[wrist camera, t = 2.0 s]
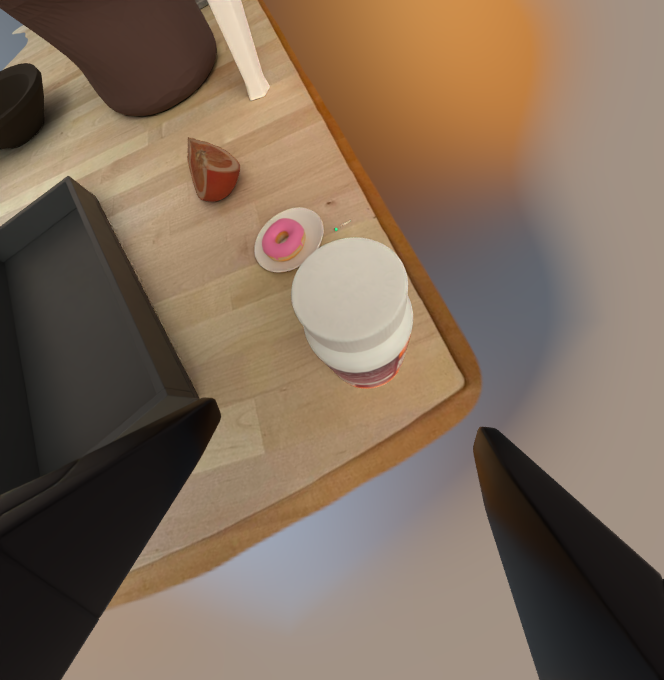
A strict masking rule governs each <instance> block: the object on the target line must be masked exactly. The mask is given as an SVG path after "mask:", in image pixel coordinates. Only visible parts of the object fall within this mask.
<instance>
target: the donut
mask: <svg viewBox="0 0 664 680" xmlns="http://www.w3.org/2000/svg"><path fill="white" fill-rule="evenodd" d="M350 222H351V220H350ZM345 223H346V222H345ZM340 225H341V224H340ZM343 225H344V223H343ZM341 227H342V226H341ZM337 230H338V229H337V228H335V231H337ZM323 232H324V228H323V222H322V220H321V218H320V217H319V215H318V214H317V213H315V212H314V211H313V210H310V209H308V208H301V207H300V208H291V209H288V210H285V211H282V212H280V213H279V214H277V215H275V216H274V217H273V218H271V219H270V220H269V221H268V222H267V223H266V224H265V225H264V226H263V228H262V229H261V231H260V232H259V234H258V236H257V239H256V242H255V247H254V251H255V257H256V260H257V262H258V263H259V264H260V265H261V267H263V268H264V269H266V270H268V271H271V272H286V271H290V270H293V269H295V268H297V267H299V266H301V264H302V263H303V262H304V260H305V259H306V258H307V257H308V256H309V255H310V254H312V253H313V252H314V251H315V250H317V249H318V247H319V245H320V244H321V241H322V238H323Z"/></svg>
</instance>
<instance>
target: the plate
mask: <svg viewBox="0 0 664 680" xmlns="http://www.w3.org/2000/svg"><path fill="white" fill-rule="evenodd" d="M43 122H44V92H43V84H42V76H41V72H40V71H39V70H38V69H37V68H36V67H35V66H34V65H32V64H28V63H24V64H18V65H14V66H11V67H9V68H6V69H4V70H2V71H0V149H7V148H16V147H19V146H21V145H23V144H25V143H26V142H28V141H29V140H30V139H32V138H33V137H34V136H35V135H36V134H37V133H38V132H39V130H40V129H41V127H42V125H43Z"/></svg>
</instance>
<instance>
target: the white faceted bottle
mask: <svg viewBox="0 0 664 680" xmlns="http://www.w3.org/2000/svg"><path fill="white" fill-rule="evenodd" d="M207 1H208V3H209V6H210V8H211V10H212V12H213V14H214V16H215V19H216V21H217V23H218V25H219V27H220V29H221V32H222V34H223V36H224V38H225V40H226V42H227V45H228V47H229V49H230V51H231V53H232V55H233V58H234V60H235V62H236V64H237V66H238V68H239V71H240V73H241V75H242V77H243V79H244V81H245V85H246V89H247V93H248V96H249V98H250V100H255V99H258V98H261V97H264V96H265V95H266V93H267V91H268V90H269V88H270V86H269V84H268V82H267V81H266V79H265V77H264V75H263V73H262V69H261V66H260V63H259V59H258V56H257V52H256V49H255V46H254V42H253V39H252V36H251V32H250V29H249V25H248V22H247V19H246V15H245V12H244V9H243V5H242V2H241V0H207Z"/></svg>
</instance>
